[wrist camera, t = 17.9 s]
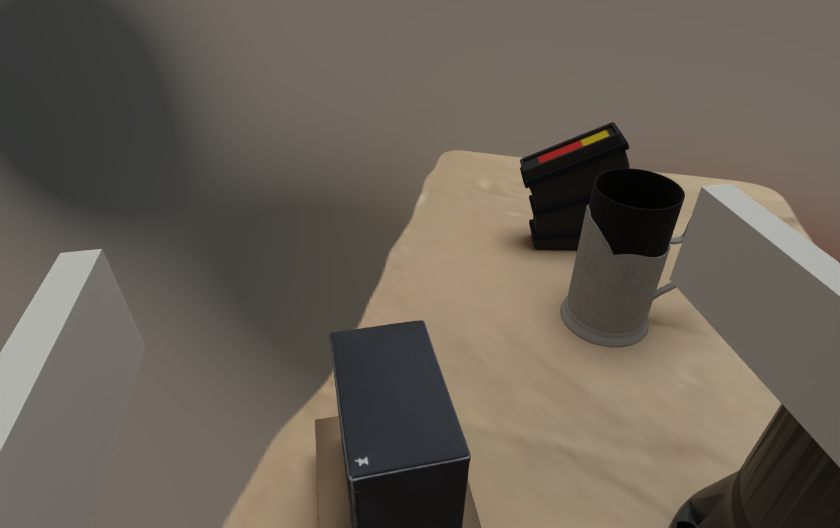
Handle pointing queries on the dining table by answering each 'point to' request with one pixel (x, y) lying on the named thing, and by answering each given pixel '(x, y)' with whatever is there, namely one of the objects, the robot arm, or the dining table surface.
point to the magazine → (569, 183)
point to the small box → (398, 429)
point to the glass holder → (622, 256)
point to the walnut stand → (334, 484)
